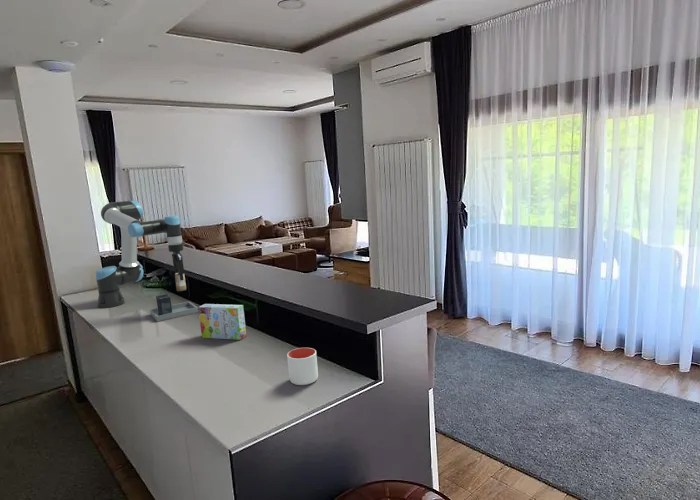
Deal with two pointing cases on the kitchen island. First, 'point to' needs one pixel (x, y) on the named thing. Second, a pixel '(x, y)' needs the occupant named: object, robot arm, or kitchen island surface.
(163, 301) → the box
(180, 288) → the canister
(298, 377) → the cup
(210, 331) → the snack box
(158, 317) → the grey tray
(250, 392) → the kitchen island surface
